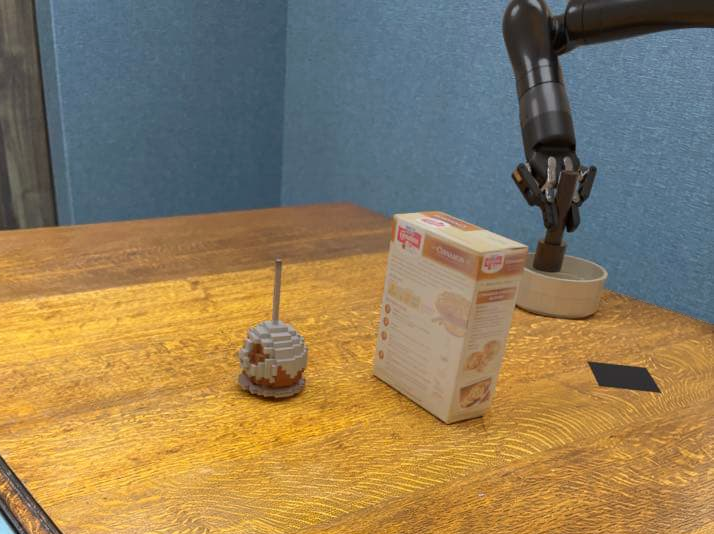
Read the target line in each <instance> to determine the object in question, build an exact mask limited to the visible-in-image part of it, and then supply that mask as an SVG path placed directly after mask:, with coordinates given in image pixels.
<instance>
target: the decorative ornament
mask: <svg viewBox="0 0 714 534" xmlns="http://www.w3.org/2000/svg"><path fill="white" fill-rule="evenodd" d="M282 268H283V260H282V259H280V258H278V259H277V258H276V259H275V260H274V278H273V279H274V280H273V298H272V316H271V320H263V321H260V322H258V324H257V325H256V326H252V327H249V330H247V337H245V341H244V343H243V344H242V348H240V350H239V351H238V362H239V367H240V369H241V373H238V378H237V383H238V384H239V386H240V387H241V389H243V390H244V391H249V393H251V394H252V395H255V394H257V396H263V397H264V398H268V397H274V398H275V399H277V398H278V399H279V398H286V397H294V394H299V393H301V391H303V390H304V389H305V388H306V377H304V375H303V374H304V373H305V371H307V366H308V356H309V347H308V346H307V345H306V344H305V338H304V337H303V336H302V335H301V334H300V333H299V332H298V331H297V330H296V329H295V328H294V327H293V326H292V325H291V324H290V323H284V322H283V320H281V319H280V304H281V287H282ZM303 388H304V389H303Z"/></svg>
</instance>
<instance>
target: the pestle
mask: <svg viewBox="0 0 714 534" xmlns="http://www.w3.org/2000/svg"><path fill="white" fill-rule="evenodd" d="M578 175H579V173H577V172H574V171H568V170H563V171H561V172H560V176H559V180H558V185H557V189H555V192H554V201H553V203H556V207H557V214H558V220H559V226H558V228H557V229H556V230H555V231H554V232H548V231H547V230H545V231H546V232H545V236H544V237H541V238H539V239H538V240H537V244H536V248H535V251H534V252H535V257H534V261H533V265H532V267H533V268H534V269H536V270H539V271H543V272H549V273H556V272H560V271H561V267H562V263H563V259H564V256H565V255H566V251H567V247H568V243H567V242H566V241H564V240H563V238H564V236H565V235H564V234H565V231H566V223H567V219H568V215H569V211H570V207H571V203H572V199H573V195H574V191H575V187H576V183H577V184H578ZM576 188H577V187H576Z"/></svg>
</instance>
